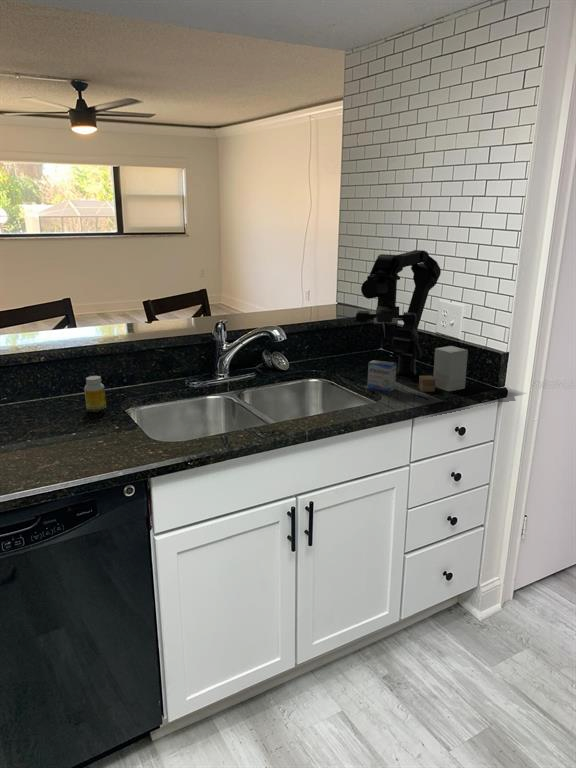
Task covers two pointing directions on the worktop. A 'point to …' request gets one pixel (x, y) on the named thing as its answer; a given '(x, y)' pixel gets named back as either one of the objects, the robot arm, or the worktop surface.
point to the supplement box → (450, 368)
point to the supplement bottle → (94, 393)
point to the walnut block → (427, 383)
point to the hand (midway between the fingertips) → (384, 343)
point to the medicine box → (381, 375)
